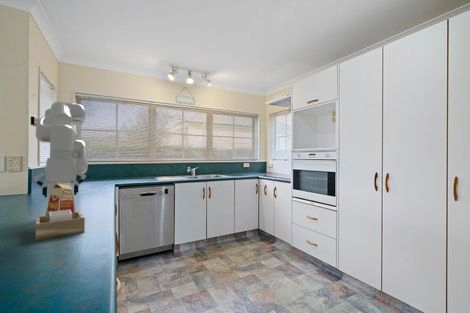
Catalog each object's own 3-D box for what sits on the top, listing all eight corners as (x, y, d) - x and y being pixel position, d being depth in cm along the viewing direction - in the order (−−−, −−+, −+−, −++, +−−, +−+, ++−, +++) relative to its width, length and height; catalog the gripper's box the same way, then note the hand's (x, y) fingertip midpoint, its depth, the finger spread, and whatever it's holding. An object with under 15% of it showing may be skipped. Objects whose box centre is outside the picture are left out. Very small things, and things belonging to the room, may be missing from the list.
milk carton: (59, 227, 98) (60, 182, 98) (43, 225, 100) (43, 181, 100) (78, 221, 107) (78, 180, 107) (62, 220, 109) (63, 179, 109)
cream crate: (49, 228, 92) (49, 211, 93) (69, 225, 97) (70, 209, 97) (49, 234, 86) (49, 216, 86) (71, 230, 90) (72, 213, 90)
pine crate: (36, 231, 92) (36, 217, 92) (80, 224, 102) (80, 211, 102) (35, 241, 81) (35, 224, 81) (84, 232, 91) (84, 217, 91)
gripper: (85, 155, 100) (84, 192, 100) (33, 154, 89) (33, 196, 89) (87, 155, 95) (87, 194, 95) (33, 154, 83) (32, 199, 83)
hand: (60, 195), depth 92 cm, fingers open, 9 cm apart
